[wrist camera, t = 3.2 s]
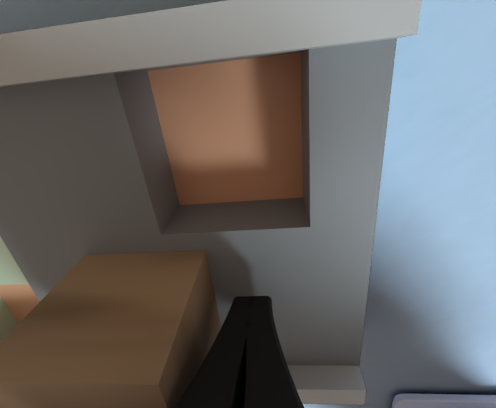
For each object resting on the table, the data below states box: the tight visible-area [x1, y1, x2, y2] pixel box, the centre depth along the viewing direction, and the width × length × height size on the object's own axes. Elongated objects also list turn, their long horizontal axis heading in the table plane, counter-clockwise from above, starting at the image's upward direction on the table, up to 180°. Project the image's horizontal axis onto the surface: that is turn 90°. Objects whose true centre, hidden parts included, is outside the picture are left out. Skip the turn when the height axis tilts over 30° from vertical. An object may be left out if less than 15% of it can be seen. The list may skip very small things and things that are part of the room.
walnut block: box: [0, 251, 221, 408], centre depth 9 cm, size 4×4×4 cm
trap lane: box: [0, 0, 422, 405], centre depth 10 cm, size 14×21×5 cm, turn 96°
